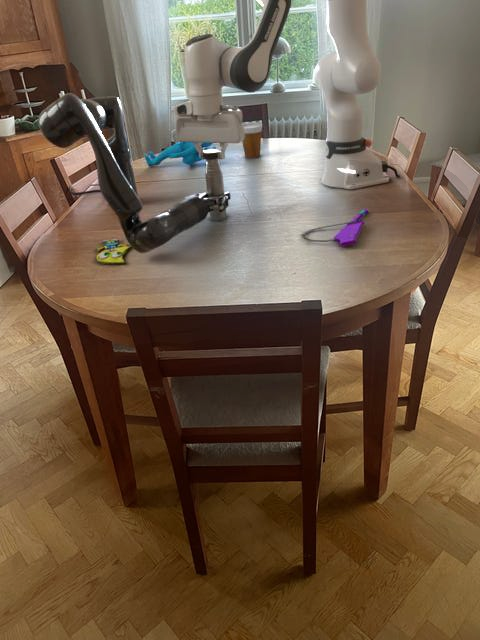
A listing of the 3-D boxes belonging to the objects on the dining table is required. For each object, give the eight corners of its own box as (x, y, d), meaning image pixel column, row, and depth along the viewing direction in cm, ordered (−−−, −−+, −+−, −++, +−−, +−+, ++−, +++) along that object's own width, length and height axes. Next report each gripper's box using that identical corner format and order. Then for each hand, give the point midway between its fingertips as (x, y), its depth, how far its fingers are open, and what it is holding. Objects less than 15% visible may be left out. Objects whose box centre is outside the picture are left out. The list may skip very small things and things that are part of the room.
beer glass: (264, 157, 198) (262, 127, 191) (241, 159, 198) (238, 129, 192) (263, 152, 206) (261, 122, 199) (241, 153, 206) (239, 124, 200)
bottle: (229, 218, 144) (223, 153, 134) (214, 221, 143) (206, 157, 132) (222, 213, 148) (216, 150, 138) (207, 216, 146) (200, 153, 136)
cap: (222, 158, 134) (221, 151, 133) (205, 160, 133) (205, 154, 132) (218, 154, 138) (217, 148, 137) (202, 157, 137) (201, 150, 136)
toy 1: (135, 237, 135) (125, 260, 122) (135, 240, 135) (125, 263, 123) (99, 239, 135) (85, 263, 122) (100, 242, 135) (86, 266, 123)
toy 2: (152, 145, 206) (216, 125, 196) (162, 169, 211) (224, 150, 201) (137, 155, 193) (205, 134, 182) (148, 181, 198) (214, 162, 187)
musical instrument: (305, 254, 121) (386, 239, 118) (304, 246, 120) (385, 231, 117) (298, 224, 142) (366, 211, 139) (297, 217, 141) (366, 204, 138)
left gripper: (207, 203, 126) (240, 184, 138) (164, 197, 133) (200, 179, 145) (210, 230, 131) (242, 209, 142) (169, 223, 137) (203, 203, 149)
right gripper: (246, 103, 126) (250, 156, 134) (180, 103, 134) (187, 154, 142) (236, 107, 122) (240, 162, 129) (168, 107, 130) (176, 159, 137)
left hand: (221, 194), depth 144 cm, fingers closed on bottle, 5 cm apart
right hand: (212, 158), depth 136 cm, fingers closed on cap, 4 cm apart
